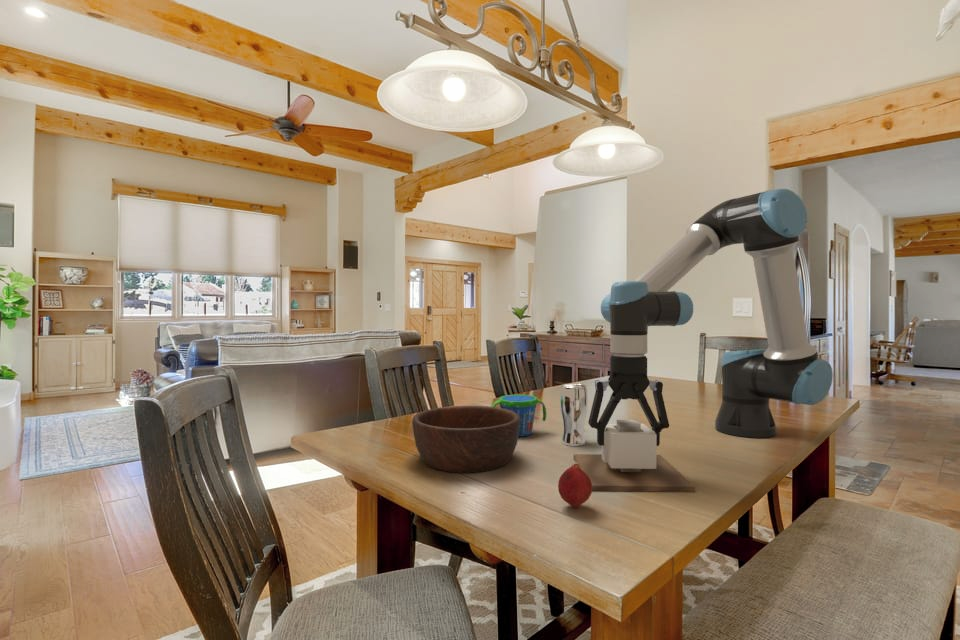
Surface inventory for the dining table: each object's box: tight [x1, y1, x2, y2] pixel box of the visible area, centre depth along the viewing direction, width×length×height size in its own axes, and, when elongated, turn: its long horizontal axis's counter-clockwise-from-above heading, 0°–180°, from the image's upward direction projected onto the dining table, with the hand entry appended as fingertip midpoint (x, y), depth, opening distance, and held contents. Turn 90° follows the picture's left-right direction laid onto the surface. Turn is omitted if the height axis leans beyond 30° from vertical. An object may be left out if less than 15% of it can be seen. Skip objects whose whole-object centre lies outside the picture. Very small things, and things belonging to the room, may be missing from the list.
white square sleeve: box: [605, 423, 657, 469], centre depth 104 cm, size 9×9×7 cm
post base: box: [573, 419, 696, 493], centre depth 104 cm, size 20×20×11 cm
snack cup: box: [491, 394, 547, 437], centre depth 136 cm, size 16×10×10 cm
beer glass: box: [559, 383, 588, 447], centre depth 127 cm, size 7×7×15 cm
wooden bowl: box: [411, 405, 520, 474], centre depth 114 cm, size 25×25×10 cm
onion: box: [557, 461, 593, 509], centre depth 86 cm, size 6×6×8 cm
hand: (628, 460), depth 104 cm, fingers closed on white square sleeve, 9 cm apart
